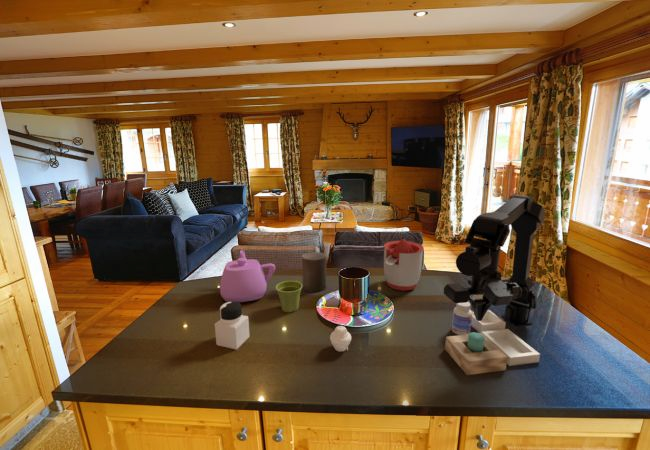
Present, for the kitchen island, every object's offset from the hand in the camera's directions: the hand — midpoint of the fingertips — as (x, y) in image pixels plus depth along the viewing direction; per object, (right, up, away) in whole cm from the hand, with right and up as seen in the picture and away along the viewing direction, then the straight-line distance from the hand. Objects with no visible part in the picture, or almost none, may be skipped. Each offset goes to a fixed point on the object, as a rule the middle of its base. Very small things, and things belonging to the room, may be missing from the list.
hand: (478, 320), depth 87 cm
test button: (0, -9, +2) cm, 9 cm away
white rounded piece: (-36, -11, +8) cm, 39 cm away
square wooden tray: (0, -12, +3) cm, 12 cm away
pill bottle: (+2, -8, +16) cm, 18 cm away
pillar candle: (-45, 0, +48) cm, 66 cm away
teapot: (-72, -2, +41) cm, 84 cm away
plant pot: (-53, -5, +31) cm, 62 cm away
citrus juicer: (-10, 0, +49) cm, 50 cm away
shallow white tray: (+12, -10, +7) cm, 17 cm away
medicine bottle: (-68, -10, +12) cm, 70 cm away
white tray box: (+11, -7, +18) cm, 23 cm away
